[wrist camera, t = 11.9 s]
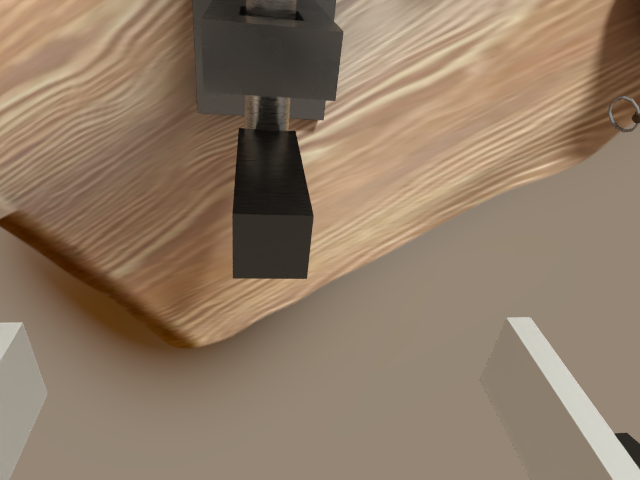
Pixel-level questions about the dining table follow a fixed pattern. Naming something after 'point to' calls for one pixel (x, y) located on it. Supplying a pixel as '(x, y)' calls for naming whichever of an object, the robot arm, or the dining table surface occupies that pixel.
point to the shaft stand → (266, 57)
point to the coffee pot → (637, 117)
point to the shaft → (270, 183)
